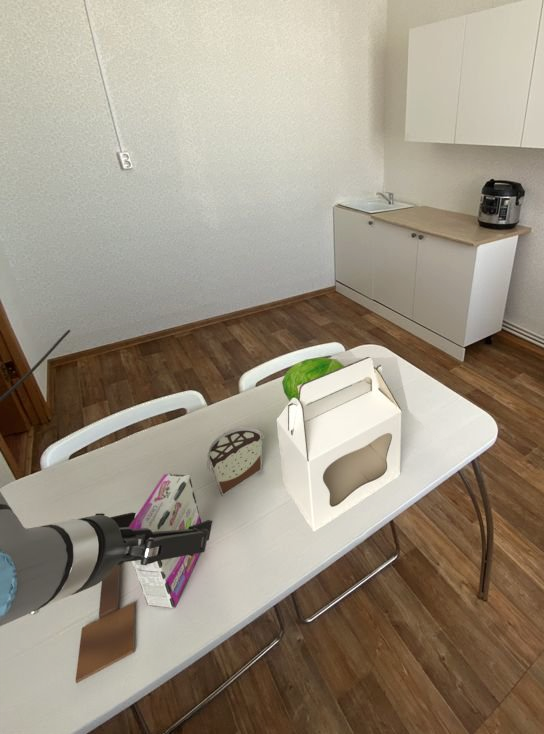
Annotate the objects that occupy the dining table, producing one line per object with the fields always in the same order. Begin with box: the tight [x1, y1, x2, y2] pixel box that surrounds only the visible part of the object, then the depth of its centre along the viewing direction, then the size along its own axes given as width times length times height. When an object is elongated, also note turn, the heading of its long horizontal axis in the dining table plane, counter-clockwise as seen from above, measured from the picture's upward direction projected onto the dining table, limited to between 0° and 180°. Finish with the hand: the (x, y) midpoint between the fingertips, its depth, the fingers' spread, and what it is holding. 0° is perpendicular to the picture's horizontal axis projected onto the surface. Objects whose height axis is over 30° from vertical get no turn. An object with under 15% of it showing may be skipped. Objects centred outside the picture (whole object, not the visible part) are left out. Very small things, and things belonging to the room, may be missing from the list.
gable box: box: [275, 356, 403, 532], centre depth 78 cm, size 22×13×28 cm, turn 126°
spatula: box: [75, 564, 136, 684], centre depth 60 cm, size 16×7×1 cm, turn 28°
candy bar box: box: [128, 473, 202, 609], centre depth 63 cm, size 11×5×16 cm, turn 175°
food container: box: [206, 426, 265, 497], centre depth 83 cm, size 12×6×10 cm, turn 135°
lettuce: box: [281, 356, 353, 406], centre depth 103 cm, size 17×20×17 cm
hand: (169, 525), depth 63 cm, fingers open, 13 cm apart
